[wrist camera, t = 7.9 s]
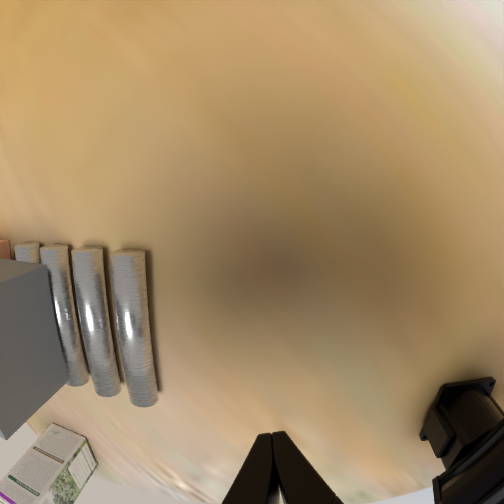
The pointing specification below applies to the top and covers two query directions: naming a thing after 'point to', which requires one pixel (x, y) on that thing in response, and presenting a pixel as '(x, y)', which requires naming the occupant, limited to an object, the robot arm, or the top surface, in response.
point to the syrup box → (50, 470)
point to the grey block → (27, 344)
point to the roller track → (100, 317)
